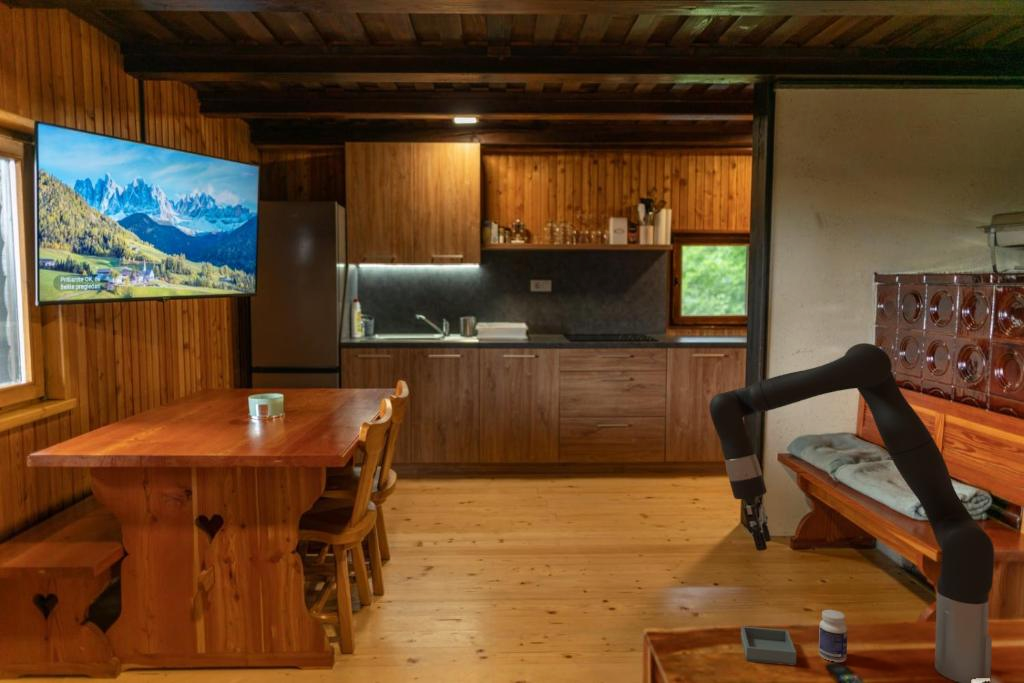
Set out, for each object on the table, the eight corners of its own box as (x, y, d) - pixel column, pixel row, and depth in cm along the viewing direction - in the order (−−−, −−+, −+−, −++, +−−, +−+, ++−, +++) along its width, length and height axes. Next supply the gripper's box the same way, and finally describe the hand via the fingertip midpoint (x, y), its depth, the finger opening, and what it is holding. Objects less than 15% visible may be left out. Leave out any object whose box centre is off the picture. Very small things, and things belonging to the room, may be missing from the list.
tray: (787, 642, 160) (787, 630, 160) (796, 665, 150) (796, 652, 150) (741, 638, 162) (741, 626, 162) (746, 660, 152) (746, 647, 152)
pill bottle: (849, 664, 150) (850, 620, 150) (822, 662, 151) (823, 618, 151) (842, 651, 156) (843, 609, 155) (816, 649, 157) (816, 607, 156)
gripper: (757, 477, 151) (778, 550, 149) (765, 468, 164) (783, 536, 162) (724, 483, 155) (743, 555, 152) (733, 474, 167) (751, 541, 165)
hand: (764, 545), depth 157 cm, fingers open, 8 cm apart
